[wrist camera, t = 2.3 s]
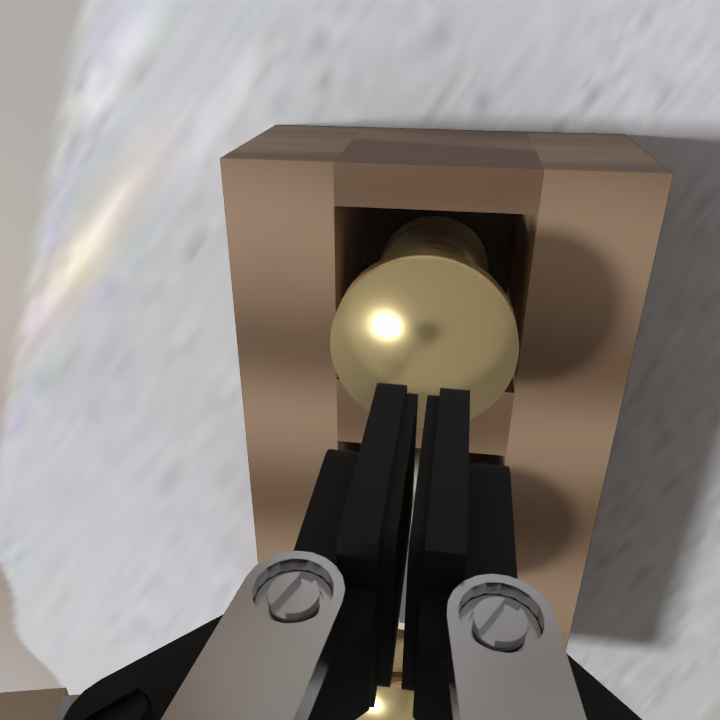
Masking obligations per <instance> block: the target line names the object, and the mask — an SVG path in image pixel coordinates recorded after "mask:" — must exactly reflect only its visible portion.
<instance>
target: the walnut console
mask: <svg viewBox="0 0 720 720" xmlns="http://www.w3.org/2000/svg"><path fill="white" fill-rule="evenodd" d="M220 164H221V174H222V185H223V195H224V206H225V217H226V227H227V238H228V249H229V259H230V270H231V281H232V291H233V302H234V312H235V323H236V334H237V344H238V355H239V366H240V376H241V387H242V397H243V408H244V419H245V429H246V440H247V451H248V461H249V472H250V483H251V493H252V504H253V514H254V525H255V536H256V546H257V557H258V564H259V563H261V562H262V561H264V560H265V559H267V558H268V557H271V556H274V555H277V554H279V553H282V552H291V551H294V548H295V545H296V542H297V539H298V535H299V532H300V529H301V526H302V523H303V520H304V517H305V514H306V511H307V508H308V505H309V502H310V499H311V496H312V493H313V490H314V487H315V484H316V481H317V478H318V475H319V472H320V469H321V466H322V463H323V460H324V457H325V454H326V452H327V450H328V449H335V450H345V451H356V452H359V451H360V447H361V443H362V439H363V435H364V431H365V428H366V424H367V420H368V416H369V411H368V410H366V409H365V408H364V407H363V406H361V405H360V404H359V403H358V402H357V401H356V400H355V399H354V398H353V397H352V396H351V395H350V394H349V393H348V391H347V390H346V389H345V387H344V386H343V384H342V383H341V381H340V379H339V377H338V375H337V373H336V370H335V368H334V365H333V361H332V357H331V349H330V335H331V328H332V323H333V320H334V317H335V315H336V312H337V310H338V307H339V305H340V303H341V300H342V298H343V296H344V295H345V293H346V291H347V289H348V288H349V287H350V285H351V284H352V282H353V281H354V280H355V279H356V278H357V277H358V276H359V275H360V274H361V273H362V272H363V225H364V207H370V208H393V209H416V210H440V211H463V212H486V213H509V214H517V220H516V228H515V237H514V245H513V253H512V262H511V270H510V279H509V287H508V296H507V297H508V299H509V301H510V303H511V306H512V308H513V311H514V315H515V319H516V324H517V331H518V339H519V356H518V361H517V366H516V370H515V372H514V375H513V378H512V380H511V382H510V383H509V385H508V387H507V389H506V390H505V391H504V393H503V394H502V395H501V397H500V398H499V399H498V400H497V401H496V402H495V403H494V404H493V405H492V406H491V407H489V408H488V409H487V410H485V411H484V412H483V413H481V414H479V415H478V416H476V417H474V418H472V419H470V429H469V453H479V454H489V456H488V464H490V465H501V466H509V468H510V474H511V489H512V504H513V519H514V534H515V548H516V563H517V578H518V580H521V581H524V582H525V583H527V584H528V585H530V586H531V587H533V588H534V589H536V590H537V591H538V592H539V593H540V594H541V595H542V596H543V597H544V598H545V599H546V600H547V601H548V602H549V604H550V606H551V609H552V611H553V613H554V615H555V617H556V620H557V624H558V627H559V630H560V633H561V637H562V640H563V643H564V647H565V650H566V647H567V643H568V638H569V634H570V629H571V625H572V620H573V616H574V612H575V607H576V603H577V598H578V594H579V589H580V585H581V581H582V576H583V572H584V567H585V563H586V558H587V554H588V550H589V545H590V541H591V536H592V532H593V527H594V523H595V519H596V514H597V510H598V505H599V501H600V496H601V492H602V488H603V483H604V479H605V474H606V470H607V465H608V461H609V457H610V452H611V448H612V443H613V439H614V434H615V430H616V426H617V421H618V417H619V412H620V408H621V403H622V399H623V394H624V390H625V386H626V381H627V377H628V372H629V368H630V363H631V359H632V355H633V350H634V346H635V341H636V337H637V332H638V328H639V324H640V319H641V315H642V310H643V306H644V301H645V297H646V293H647V288H648V284H649V279H650V275H651V270H652V266H653V262H654V257H655V253H656V248H657V244H658V239H659V235H660V231H661V226H662V222H663V217H664V213H665V208H666V204H667V200H668V195H669V191H670V186H671V182H672V177H673V173H672V172H670V171H669V170H668V169H667V168H665V167H664V166H663V165H662V164H660V163H659V162H658V161H657V160H655V159H654V158H653V157H652V156H651V155H649V154H648V153H647V152H646V151H644V150H643V149H642V148H641V147H639V146H638V145H637V144H636V143H634V142H633V141H632V140H631V139H629V138H628V137H627V136H626V135H621V134H584V133H548V132H512V131H476V130H439V129H403V128H367V127H330V126H294V125H275V126H273V127H271V128H270V129H268V130H266V131H265V132H263V133H261V134H260V135H258V136H256V137H255V138H253V139H251V140H250V141H248V142H246V143H245V144H243V145H241V146H240V147H238V148H236V149H235V150H233V151H231V152H230V153H228V154H226V155H225V156H223V157H221V158H220ZM422 435H423V429H418V428H417V430H416V448H421V443H422Z"/></svg>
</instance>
